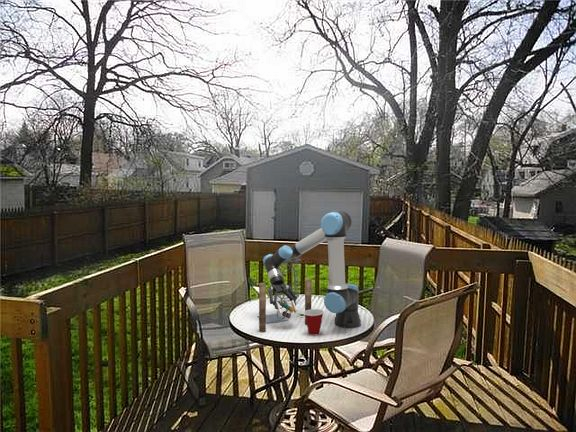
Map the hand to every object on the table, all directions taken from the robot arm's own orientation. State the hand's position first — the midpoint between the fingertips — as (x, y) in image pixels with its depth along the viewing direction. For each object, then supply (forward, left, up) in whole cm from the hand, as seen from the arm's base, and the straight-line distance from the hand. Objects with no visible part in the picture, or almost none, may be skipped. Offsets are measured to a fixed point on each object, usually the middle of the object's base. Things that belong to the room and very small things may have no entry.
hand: (288, 312), depth 244 cm
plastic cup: (-14, -5, -10) cm, 18 cm away
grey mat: (+20, -7, -9) cm, 23 cm away
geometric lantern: (+40, -40, -10) cm, 57 cm away
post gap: (+3, -1, -9) cm, 10 cm away
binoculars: (+3, -1, -4) cm, 5 cm away
